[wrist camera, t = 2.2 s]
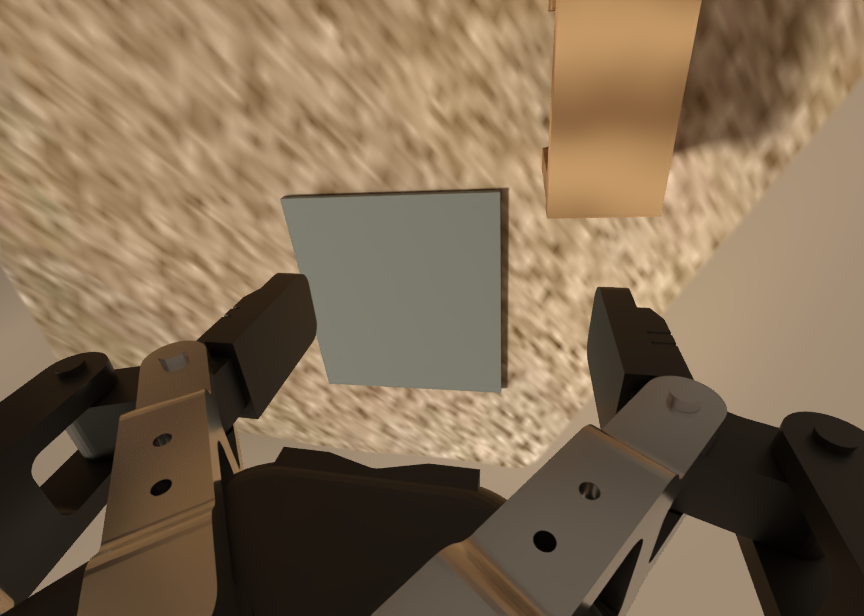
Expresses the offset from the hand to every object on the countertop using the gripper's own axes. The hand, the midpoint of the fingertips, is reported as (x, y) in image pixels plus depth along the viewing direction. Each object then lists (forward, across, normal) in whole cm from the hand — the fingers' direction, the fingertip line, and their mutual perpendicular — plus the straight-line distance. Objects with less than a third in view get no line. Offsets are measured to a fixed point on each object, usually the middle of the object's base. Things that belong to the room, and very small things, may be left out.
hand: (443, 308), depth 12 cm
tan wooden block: (+24, -6, -4) cm, 25 cm away
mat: (+24, +8, +14) cm, 29 cm away
